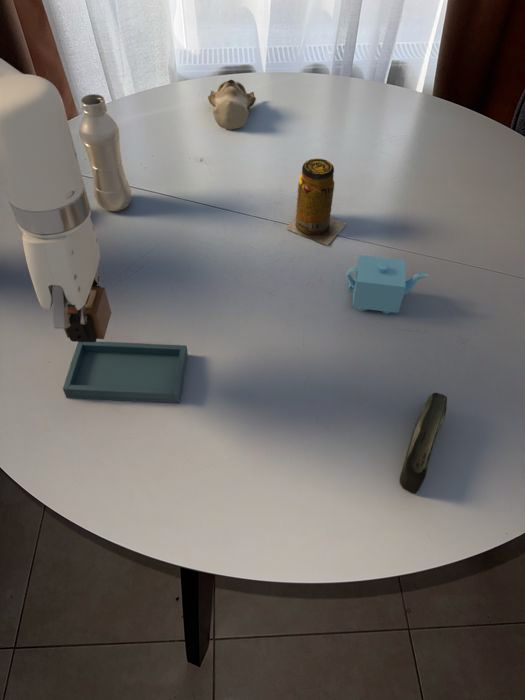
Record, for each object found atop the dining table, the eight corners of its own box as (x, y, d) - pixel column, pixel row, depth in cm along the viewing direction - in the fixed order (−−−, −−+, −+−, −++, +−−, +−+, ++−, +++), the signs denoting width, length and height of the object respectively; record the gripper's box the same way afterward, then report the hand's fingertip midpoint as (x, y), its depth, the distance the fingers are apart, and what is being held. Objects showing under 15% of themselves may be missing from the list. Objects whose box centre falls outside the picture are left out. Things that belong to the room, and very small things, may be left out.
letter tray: (66, 397, 79) (62, 388, 78) (81, 349, 85) (78, 340, 83) (179, 403, 79) (178, 394, 77) (187, 354, 85) (186, 345, 83)
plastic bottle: (118, 220, 104) (96, 114, 89) (89, 208, 106) (62, 102, 91) (140, 201, 108) (122, 96, 92) (112, 190, 110) (89, 85, 94)
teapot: (418, 292, 94) (429, 256, 88) (419, 319, 90) (430, 284, 84) (343, 283, 95) (350, 248, 89) (341, 310, 91) (348, 274, 85)
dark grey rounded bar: (428, 480, 67) (454, 383, 76) (403, 471, 68) (432, 375, 76) (418, 498, 71) (444, 404, 80) (394, 489, 72) (423, 396, 80)
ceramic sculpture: (203, 93, 116) (207, 64, 126) (205, 134, 123) (209, 103, 133) (256, 94, 116) (256, 65, 127) (255, 136, 123) (255, 105, 133)
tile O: (67, 337, 72) (57, 311, 69) (76, 311, 75) (67, 284, 72) (103, 339, 72) (95, 312, 69) (111, 312, 75) (104, 285, 72)
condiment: (305, 208, 107) (311, 150, 98) (346, 224, 104) (355, 166, 95) (285, 229, 103) (288, 170, 94) (326, 246, 101) (334, 187, 91)
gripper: (38, 158, 65) (76, 277, 79) (-14, 258, 54) (40, 375, 68) (105, 160, 65) (131, 279, 79) (65, 261, 54) (104, 378, 68)
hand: (88, 323), depth 74 cm, fingers closed on tile O, 4 cm apart
